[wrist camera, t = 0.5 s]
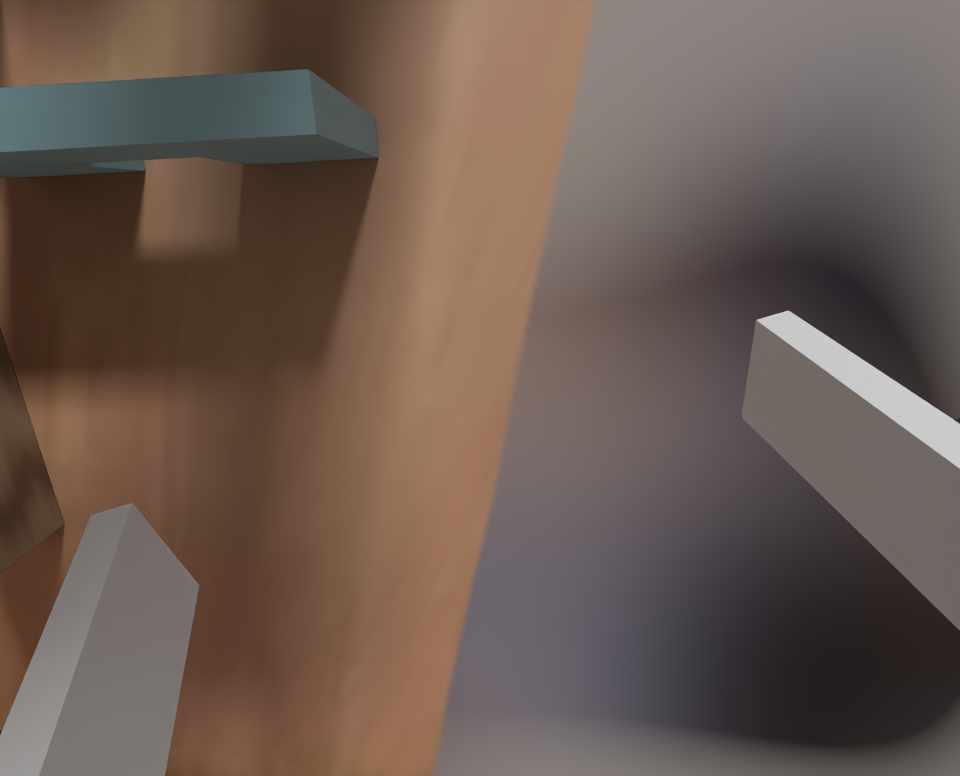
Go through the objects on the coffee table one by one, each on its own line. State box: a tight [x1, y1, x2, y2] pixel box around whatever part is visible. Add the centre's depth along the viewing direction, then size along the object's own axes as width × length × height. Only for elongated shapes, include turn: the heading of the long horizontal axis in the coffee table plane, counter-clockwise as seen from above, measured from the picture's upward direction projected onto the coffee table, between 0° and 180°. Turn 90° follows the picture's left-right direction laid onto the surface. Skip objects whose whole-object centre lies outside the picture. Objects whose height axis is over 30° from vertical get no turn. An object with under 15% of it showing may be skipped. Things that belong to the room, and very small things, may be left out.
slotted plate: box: [0, 69, 379, 178], centre depth 25 cm, size 2×20×12 cm, turn 93°
